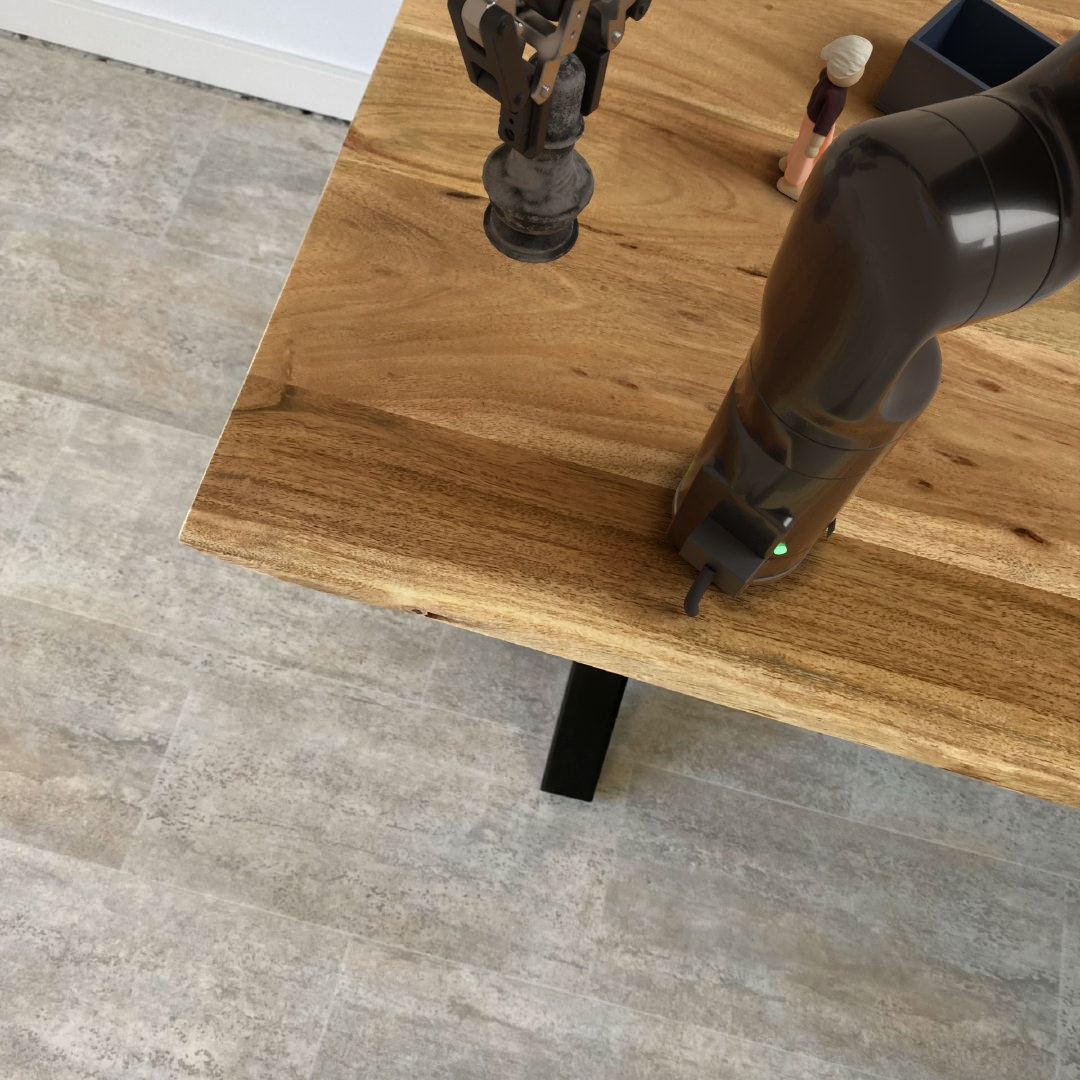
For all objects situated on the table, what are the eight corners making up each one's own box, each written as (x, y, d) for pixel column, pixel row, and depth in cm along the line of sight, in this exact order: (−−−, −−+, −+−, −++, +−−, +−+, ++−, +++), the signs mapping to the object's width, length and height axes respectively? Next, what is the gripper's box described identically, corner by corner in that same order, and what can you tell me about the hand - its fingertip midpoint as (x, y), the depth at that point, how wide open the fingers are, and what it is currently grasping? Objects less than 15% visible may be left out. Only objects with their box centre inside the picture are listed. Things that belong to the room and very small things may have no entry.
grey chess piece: (573, 278, 58) (613, 101, 47) (466, 253, 58) (482, 69, 47) (592, 198, 61) (634, 13, 50) (490, 174, 60) (510, -18, 50)
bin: (967, 169, 88) (1009, 105, 82) (874, 105, 90) (908, 38, 84) (1022, 112, 91) (1066, 47, 86) (931, 52, 93) (967, -16, 87)
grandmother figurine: (823, 213, 84) (891, 82, 72) (775, 208, 83) (836, 75, 72) (814, 140, 87) (878, 3, 76) (768, 135, 87) (825, -4, 75)
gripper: (564, -123, 34) (511, 247, 49) (809, -280, 40) (694, 96, 55) (390, -238, 35) (392, 156, 51) (650, -373, 41) (581, 19, 56)
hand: (549, 123), depth 53 cm, fingers closed on grey chess piece, 3 cm apart
